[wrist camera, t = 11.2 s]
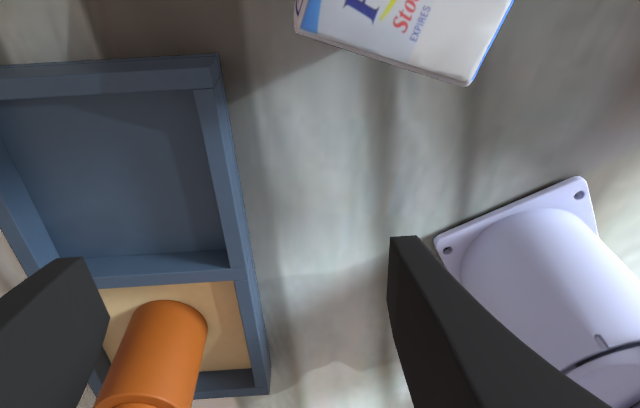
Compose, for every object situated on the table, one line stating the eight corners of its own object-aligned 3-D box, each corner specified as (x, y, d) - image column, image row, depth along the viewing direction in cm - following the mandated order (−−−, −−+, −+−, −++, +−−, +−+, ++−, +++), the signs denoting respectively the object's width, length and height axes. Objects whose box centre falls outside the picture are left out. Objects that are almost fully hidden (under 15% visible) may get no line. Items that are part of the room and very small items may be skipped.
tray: (271, 365, 28) (269, 394, 27) (112, 376, 28) (100, 406, 27) (218, 52, 17) (209, 67, 16) (-44, 67, 17) (-83, 83, 15)
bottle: (223, 333, 26) (197, 478, 19) (165, 358, 26) (120, 504, 20) (175, 288, 23) (127, 433, 17) (114, 317, 24) (45, 465, 18)
